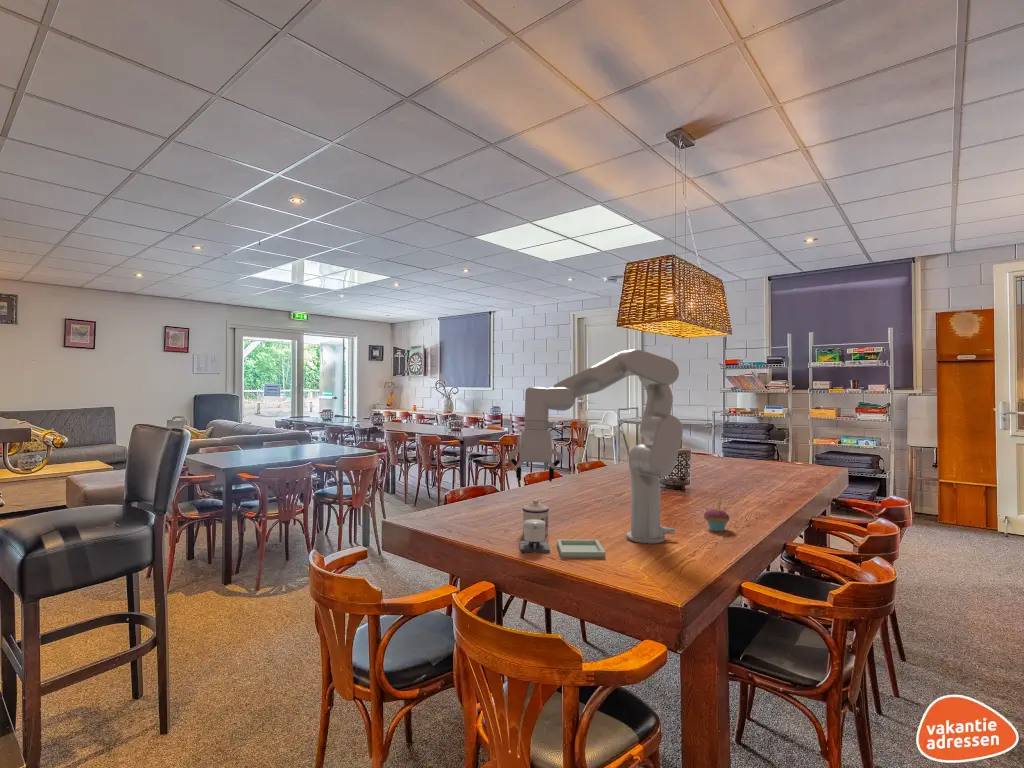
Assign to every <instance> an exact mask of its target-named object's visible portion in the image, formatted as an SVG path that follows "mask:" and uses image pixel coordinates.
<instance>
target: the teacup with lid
mask: <svg viewBox="0 0 1024 768" xmlns="http://www.w3.org/2000/svg"><path fill="white" fill-rule="evenodd" d="M549 510H550V508H549V507H548V506H547V505H545V504H543V503H542V502H539V499H533V500H532V502H529V504H526V505H524V506H523V507H522V512H523V513H522V515H523V516H522V524H523V525H522V534H524V521H526V520H531V519H536V520H543V521H545V536H548V534H549Z"/></svg>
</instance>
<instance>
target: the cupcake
mask: <svg viewBox="0 0 1024 768" xmlns="http://www.w3.org/2000/svg"><path fill="white" fill-rule="evenodd" d="M721 504H722V497H720V498H718V505H717V506H718V507H717V509H709V510H707V511H705V513H704V514H703V518H704V520H706V521H707V524H708V527H709V530H711V529H712V530H711V531H713V530H719V531H718V532H721V531H720V530H724V531H725V529H726V526H727V523H728V522H729V521H730V516H729V514H728V513H727V512H726V511H724V510H721Z"/></svg>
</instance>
